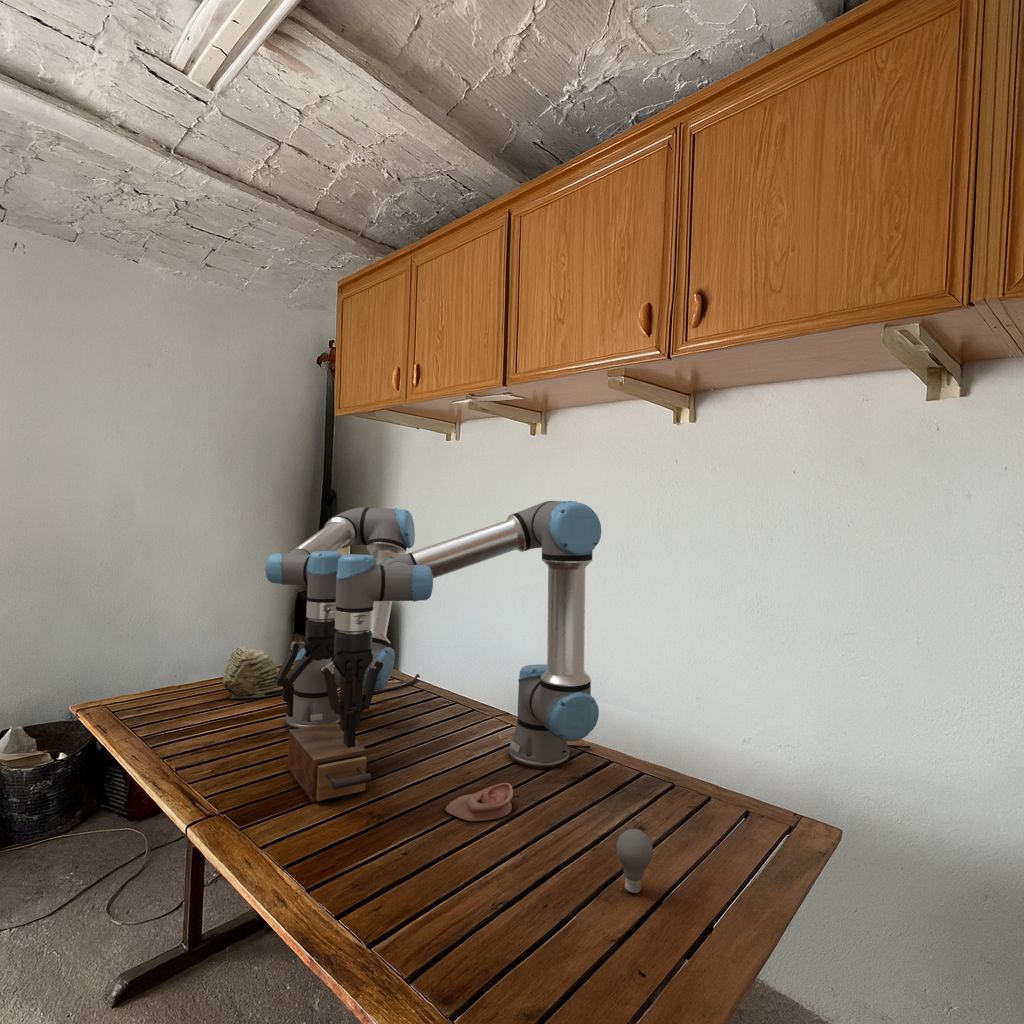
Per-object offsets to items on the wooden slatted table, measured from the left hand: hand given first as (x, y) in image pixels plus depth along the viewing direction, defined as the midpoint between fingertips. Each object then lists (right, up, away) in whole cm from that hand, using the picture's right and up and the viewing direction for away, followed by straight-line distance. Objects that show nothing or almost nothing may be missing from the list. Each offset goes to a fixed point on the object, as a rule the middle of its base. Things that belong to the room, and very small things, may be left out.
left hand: (319, 710), depth 146 cm
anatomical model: (+38, -16, -15) cm, 43 cm away
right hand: (+11, -2, -16) cm, 20 cm away
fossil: (-36, -11, +52) cm, 65 cm away
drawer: (+5, -13, -8) cm, 17 cm away
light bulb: (+64, -18, -40) cm, 78 cm away
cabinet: (+2, -14, -4) cm, 15 cm away
